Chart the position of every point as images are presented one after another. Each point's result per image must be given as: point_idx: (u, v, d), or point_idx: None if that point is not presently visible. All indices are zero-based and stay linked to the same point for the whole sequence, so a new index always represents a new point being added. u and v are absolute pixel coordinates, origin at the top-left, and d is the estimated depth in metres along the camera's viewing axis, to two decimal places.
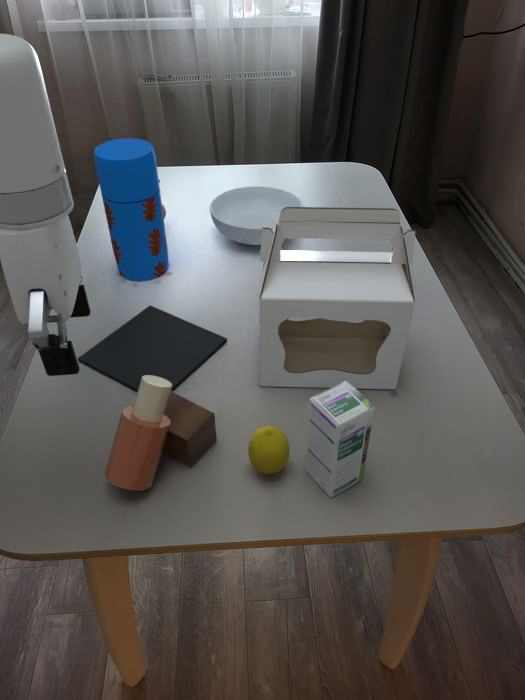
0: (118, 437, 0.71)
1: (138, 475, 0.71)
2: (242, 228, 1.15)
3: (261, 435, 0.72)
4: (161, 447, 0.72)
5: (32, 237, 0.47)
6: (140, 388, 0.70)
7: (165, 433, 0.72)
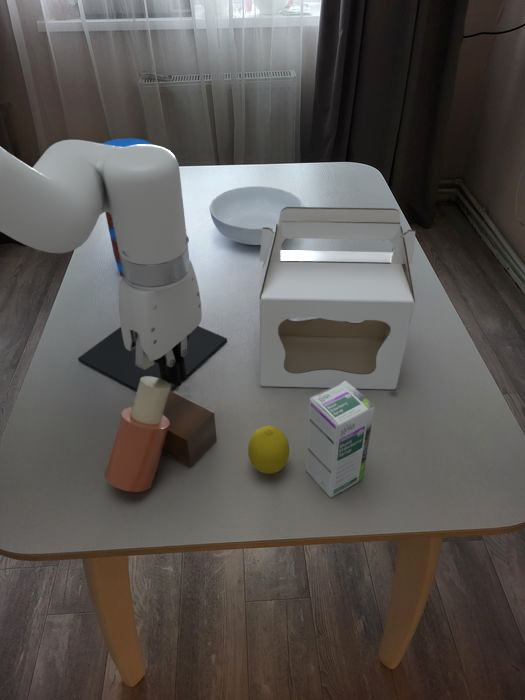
0: (117, 439, 0.71)
1: (138, 476, 0.71)
2: (242, 228, 1.15)
3: (261, 435, 0.72)
4: (160, 448, 0.72)
5: (137, 296, 0.60)
6: (139, 390, 0.70)
7: (164, 434, 0.71)
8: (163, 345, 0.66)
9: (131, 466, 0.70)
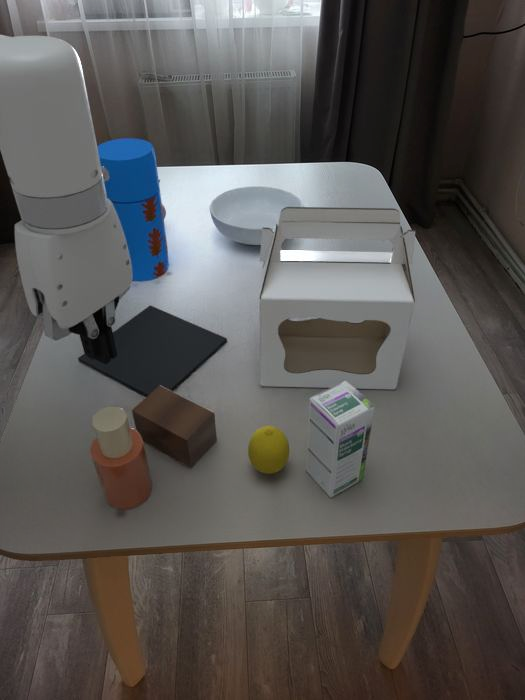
0: (97, 473, 0.70)
1: (130, 498, 0.71)
2: (242, 228, 1.15)
3: (261, 435, 0.72)
4: (142, 468, 0.70)
5: (35, 241, 0.47)
6: (95, 432, 0.66)
7: (139, 459, 0.69)
8: (77, 309, 0.52)
9: (119, 493, 0.70)
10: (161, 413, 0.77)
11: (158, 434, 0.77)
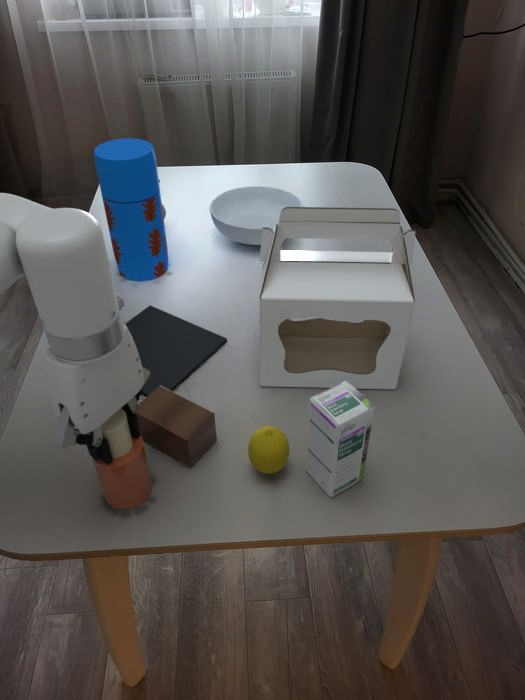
0: (97, 473, 0.70)
1: (130, 497, 0.71)
2: (242, 228, 1.15)
3: (261, 435, 0.72)
4: (142, 468, 0.70)
5: (62, 370, 0.55)
6: None
7: (140, 459, 0.69)
8: (96, 417, 0.60)
9: (119, 493, 0.70)
10: (161, 413, 0.77)
11: (158, 434, 0.77)
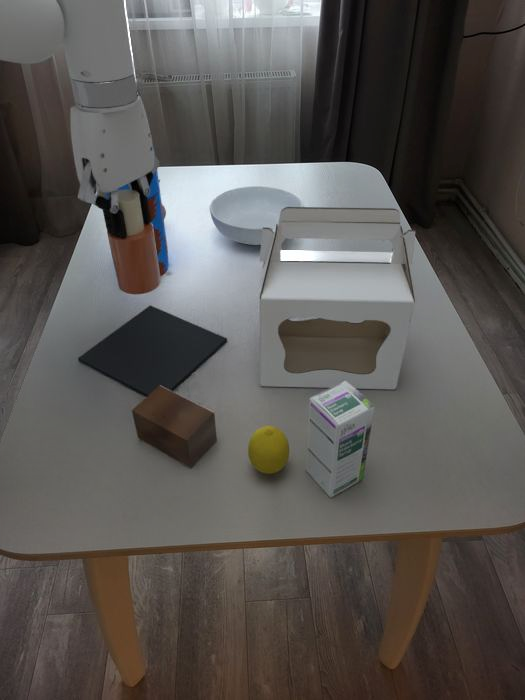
0: (112, 254, 0.79)
1: (141, 280, 0.81)
2: (242, 228, 1.15)
3: (261, 435, 0.72)
4: (152, 252, 0.80)
5: (86, 117, 0.64)
6: None
7: (150, 240, 0.78)
8: (114, 177, 0.70)
9: (132, 274, 0.80)
10: (161, 413, 0.77)
11: (158, 434, 0.77)
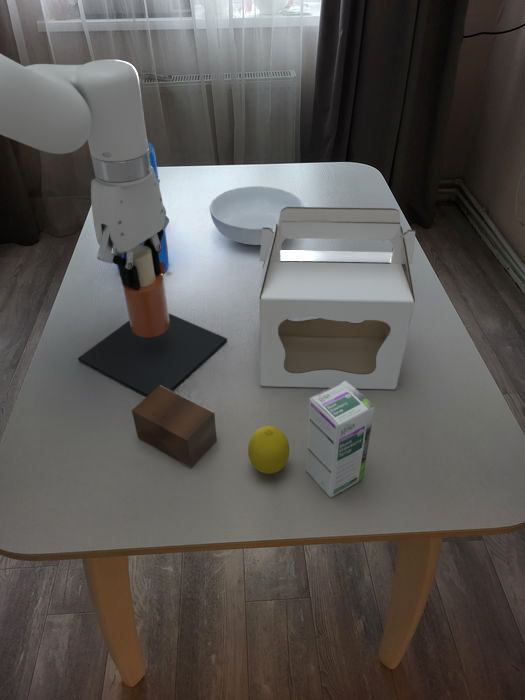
0: (126, 303, 0.87)
1: (153, 325, 0.89)
2: (242, 228, 1.15)
3: (261, 435, 0.72)
4: (163, 300, 0.88)
5: (105, 191, 0.72)
6: None
7: (161, 290, 0.86)
8: (129, 239, 0.78)
9: (144, 320, 0.88)
10: (161, 413, 0.77)
11: (158, 434, 0.77)
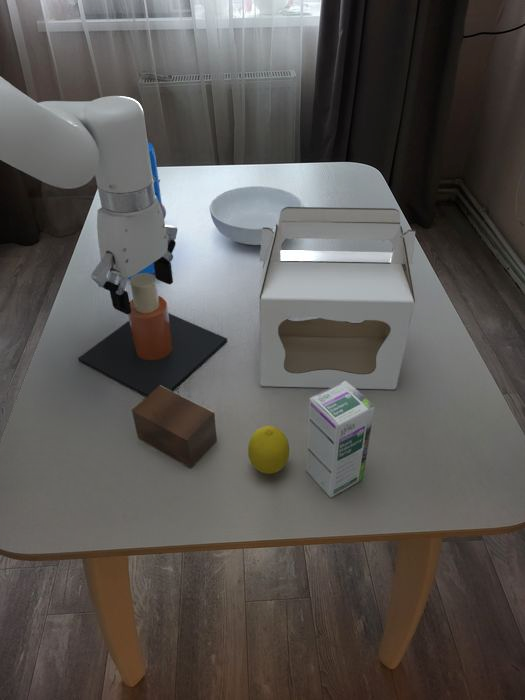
0: (131, 327, 0.90)
1: (156, 349, 0.92)
2: (242, 228, 1.15)
3: (261, 435, 0.72)
4: (166, 325, 0.91)
5: (111, 220, 0.75)
6: (131, 290, 0.86)
7: (164, 315, 0.89)
8: (134, 265, 0.80)
9: (148, 344, 0.91)
10: (161, 413, 0.77)
11: (158, 434, 0.77)
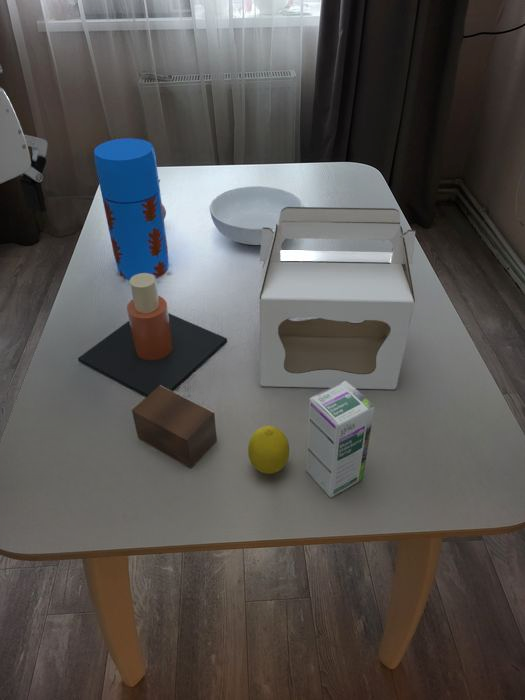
0: (131, 327, 0.90)
1: (156, 349, 0.92)
2: (242, 228, 1.15)
3: (261, 435, 0.72)
4: (166, 325, 0.91)
5: None
6: (131, 290, 0.86)
7: (164, 315, 0.89)
8: None
9: (148, 344, 0.91)
10: (161, 413, 0.77)
11: (158, 434, 0.77)
